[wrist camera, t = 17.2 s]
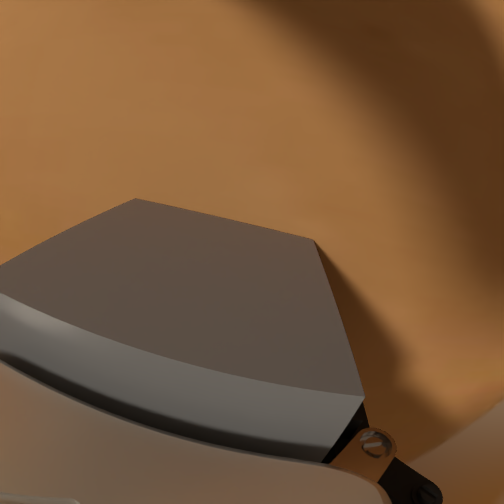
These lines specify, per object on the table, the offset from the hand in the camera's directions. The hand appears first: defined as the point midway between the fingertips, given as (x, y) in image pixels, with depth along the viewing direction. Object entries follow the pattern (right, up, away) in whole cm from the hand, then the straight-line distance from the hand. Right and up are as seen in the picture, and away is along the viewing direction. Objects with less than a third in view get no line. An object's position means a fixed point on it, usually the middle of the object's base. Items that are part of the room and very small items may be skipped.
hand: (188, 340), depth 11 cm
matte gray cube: (0, +1, +3) cm, 3 cm away
